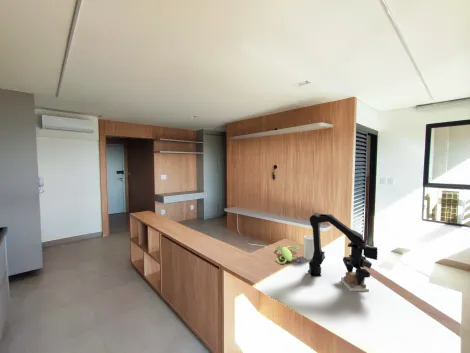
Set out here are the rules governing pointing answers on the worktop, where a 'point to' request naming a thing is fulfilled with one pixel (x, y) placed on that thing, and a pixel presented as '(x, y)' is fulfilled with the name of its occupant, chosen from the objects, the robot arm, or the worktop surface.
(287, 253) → the figurine
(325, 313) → the worktop surface
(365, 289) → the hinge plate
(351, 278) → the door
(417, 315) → the worktop surface
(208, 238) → the worktop surface
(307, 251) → the cup
